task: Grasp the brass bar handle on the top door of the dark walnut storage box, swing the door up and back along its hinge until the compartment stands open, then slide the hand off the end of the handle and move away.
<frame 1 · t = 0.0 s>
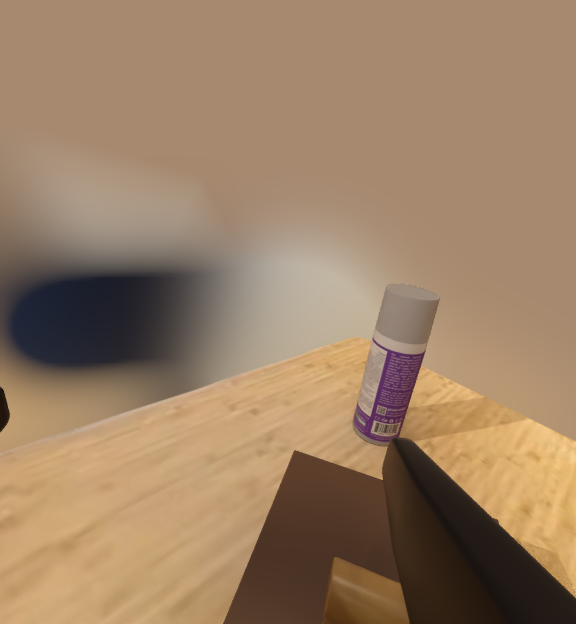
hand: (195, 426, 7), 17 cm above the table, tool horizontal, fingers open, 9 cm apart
box door: (394, 607, 11), point 8 cm above the table, hinge at 0.0°
container: (374, 430, 32), on the table
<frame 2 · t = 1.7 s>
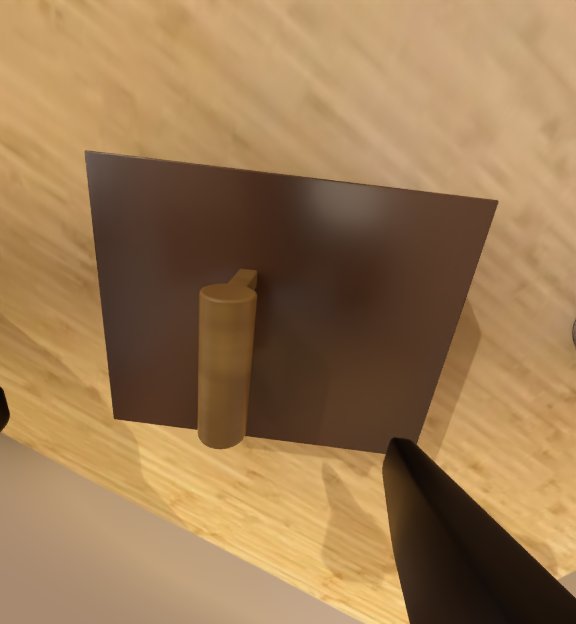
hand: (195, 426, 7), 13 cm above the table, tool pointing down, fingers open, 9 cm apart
box door: (269, 347, 11), point 8 cm above the table, hinge at 0.0°
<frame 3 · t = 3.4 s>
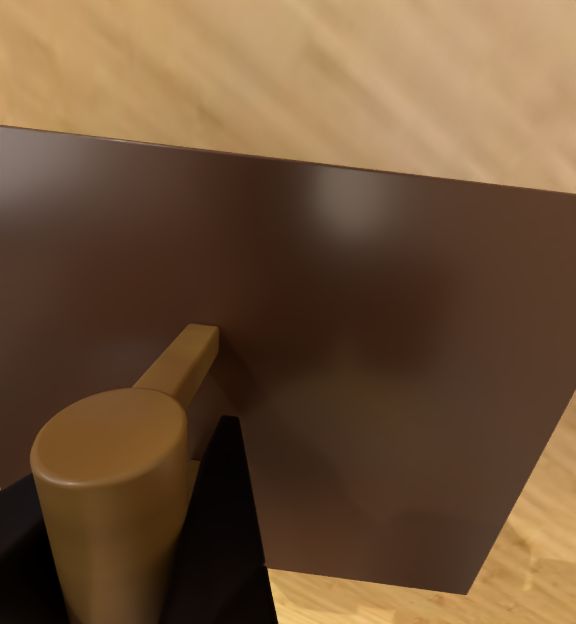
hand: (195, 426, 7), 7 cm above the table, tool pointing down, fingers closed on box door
box door: (236, 474, 6), point 8 cm above the table, hinge at -0.1°, touching gripper
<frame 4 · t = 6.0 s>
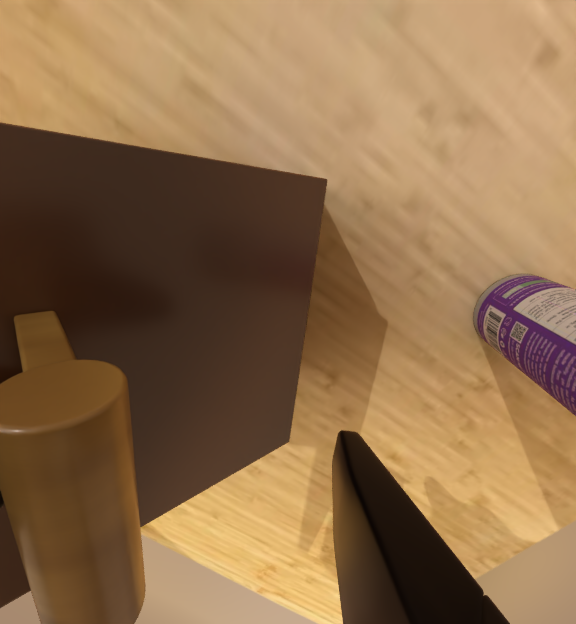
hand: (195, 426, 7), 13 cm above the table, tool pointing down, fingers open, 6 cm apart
box door: (130, 426, 7), point 13 cm above the table, hinge at 44.3°, touching gripper
container: (511, 310, 19), on the table
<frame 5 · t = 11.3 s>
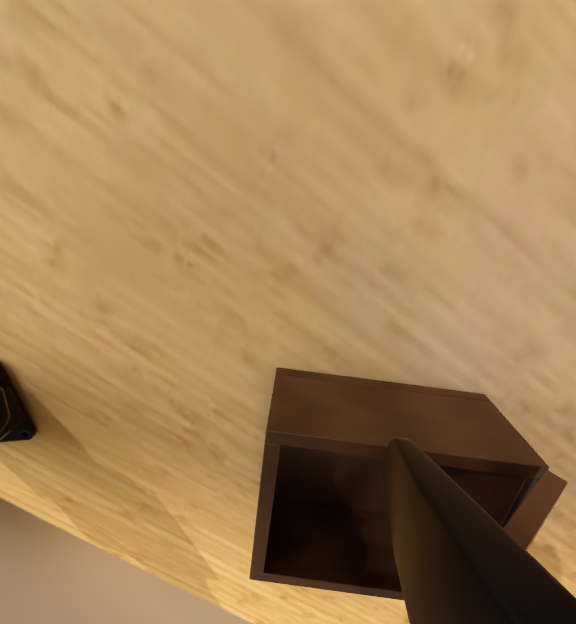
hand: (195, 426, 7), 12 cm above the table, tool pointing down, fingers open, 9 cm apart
compartment: (362, 449, 22), on the table
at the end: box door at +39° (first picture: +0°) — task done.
